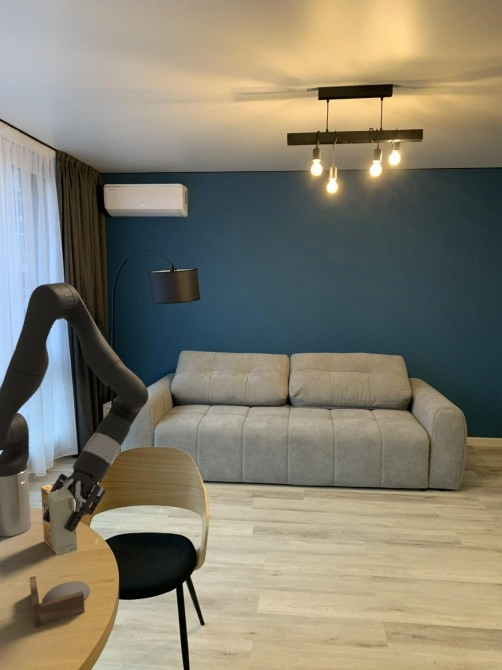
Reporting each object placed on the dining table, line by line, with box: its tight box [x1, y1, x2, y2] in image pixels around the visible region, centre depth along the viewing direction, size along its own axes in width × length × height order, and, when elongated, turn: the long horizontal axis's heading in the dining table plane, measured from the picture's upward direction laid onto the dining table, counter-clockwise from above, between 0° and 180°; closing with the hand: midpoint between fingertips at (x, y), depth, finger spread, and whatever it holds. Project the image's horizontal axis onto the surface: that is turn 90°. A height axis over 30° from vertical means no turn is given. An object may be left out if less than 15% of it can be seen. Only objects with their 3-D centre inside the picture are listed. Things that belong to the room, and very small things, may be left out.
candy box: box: [40, 483, 58, 554], centre depth 129 cm, size 9×4×15 cm, turn 43°
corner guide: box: [29, 575, 85, 628], centre depth 106 cm, size 12×10×4 cm
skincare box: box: [48, 489, 78, 557], centre depth 107 cm, size 6×4×12 cm
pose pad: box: [43, 580, 91, 602], centre depth 108 cm, size 10×10×1 cm
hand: (56, 525), depth 105 cm, fingers closed on skincare box, 7 cm apart
